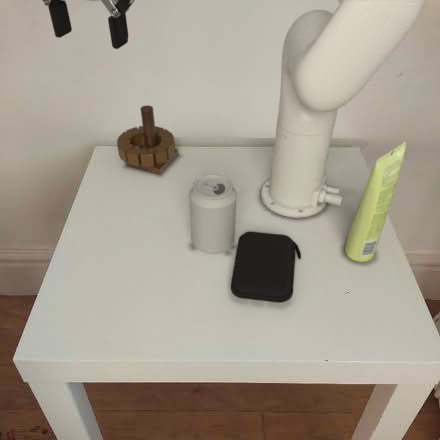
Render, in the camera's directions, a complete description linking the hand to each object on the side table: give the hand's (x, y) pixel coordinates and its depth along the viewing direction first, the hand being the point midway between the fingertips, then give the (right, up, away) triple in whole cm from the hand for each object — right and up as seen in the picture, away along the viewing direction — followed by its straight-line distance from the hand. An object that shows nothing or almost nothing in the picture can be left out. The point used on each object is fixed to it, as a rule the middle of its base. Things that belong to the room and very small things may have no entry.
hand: (91, 39), depth 66 cm
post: (+4, -9, +30) cm, 32 cm away
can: (+17, -28, +14) cm, 36 cm away
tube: (+43, -30, +12) cm, 53 cm away
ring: (+3, -7, +30) cm, 31 cm away
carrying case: (+26, -33, +9) cm, 43 cm away
